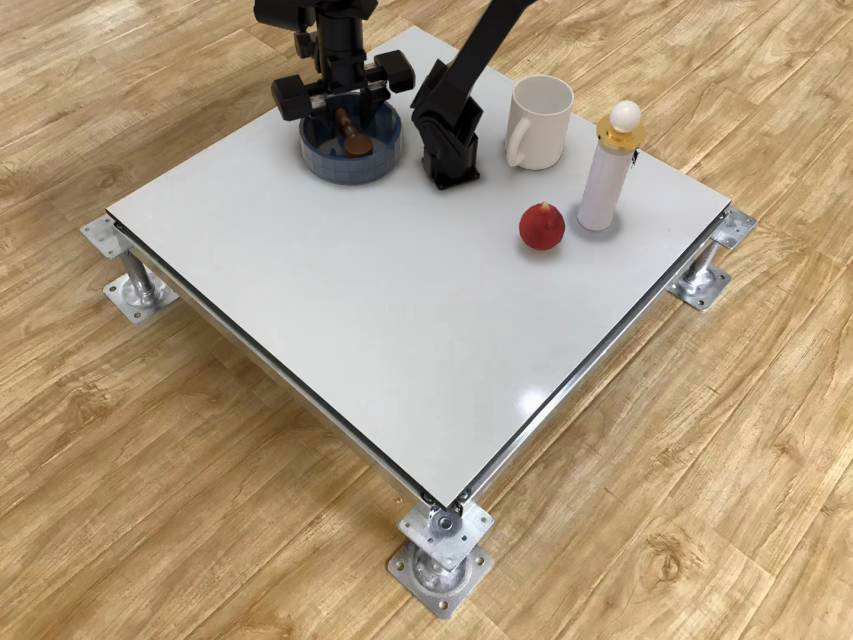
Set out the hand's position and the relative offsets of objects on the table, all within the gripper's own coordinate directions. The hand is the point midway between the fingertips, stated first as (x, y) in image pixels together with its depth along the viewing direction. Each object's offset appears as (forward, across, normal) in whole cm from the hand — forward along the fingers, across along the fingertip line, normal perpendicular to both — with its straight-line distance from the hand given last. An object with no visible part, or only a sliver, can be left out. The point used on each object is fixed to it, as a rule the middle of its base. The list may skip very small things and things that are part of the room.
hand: (347, 132), depth 110 cm
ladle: (+1, 0, +2) cm, 2 cm away
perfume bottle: (+2, -26, +27) cm, 37 cm away
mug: (+2, -22, +13) cm, 26 cm away
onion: (+2, -16, +28) cm, 32 cm away
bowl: (+2, 0, +2) cm, 2 cm away
